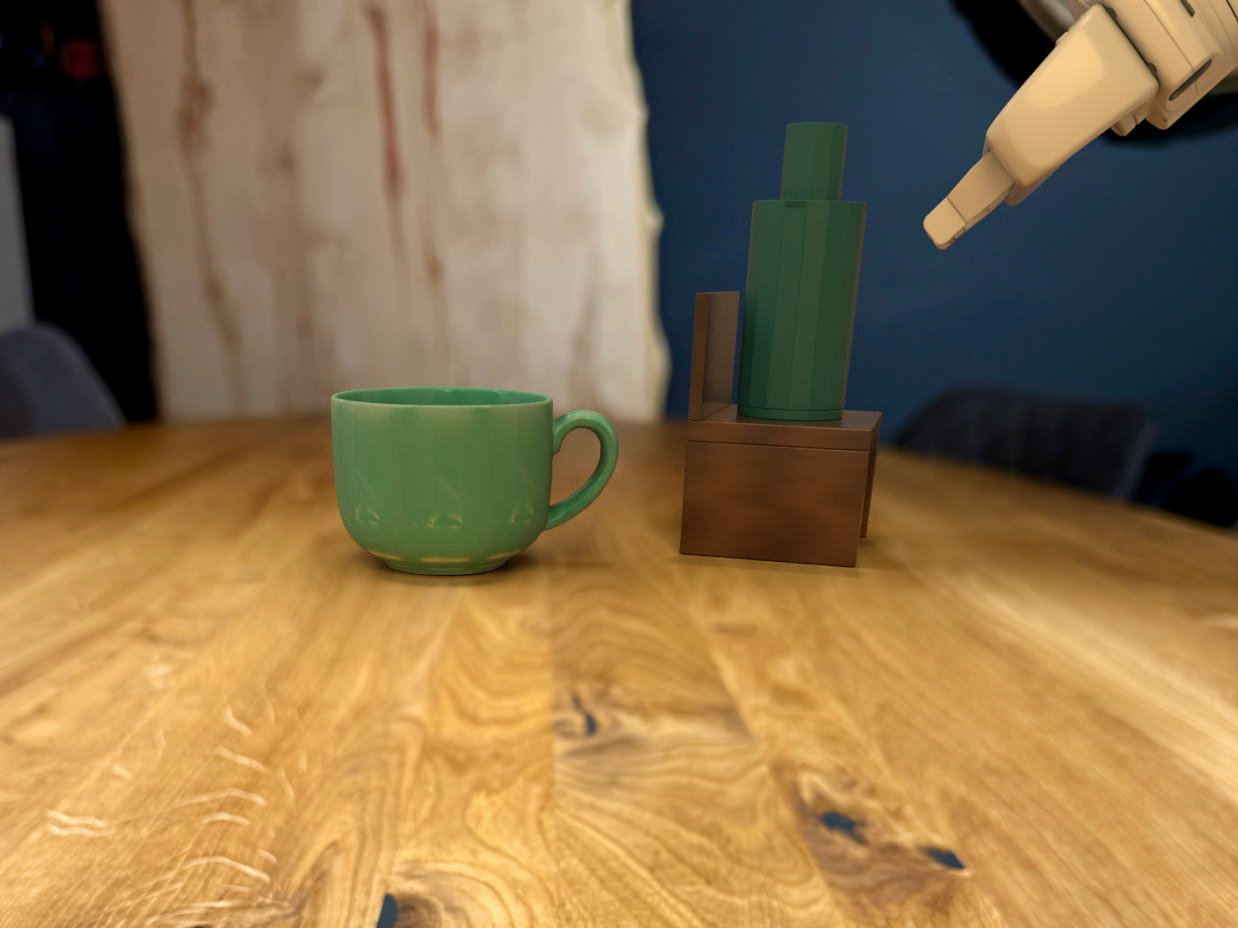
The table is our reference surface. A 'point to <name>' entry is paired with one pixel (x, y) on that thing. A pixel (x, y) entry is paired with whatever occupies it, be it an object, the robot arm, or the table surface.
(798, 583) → the table surface
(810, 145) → the bottle
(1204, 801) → the table surface
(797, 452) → the wooden toy chair
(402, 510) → the mug
